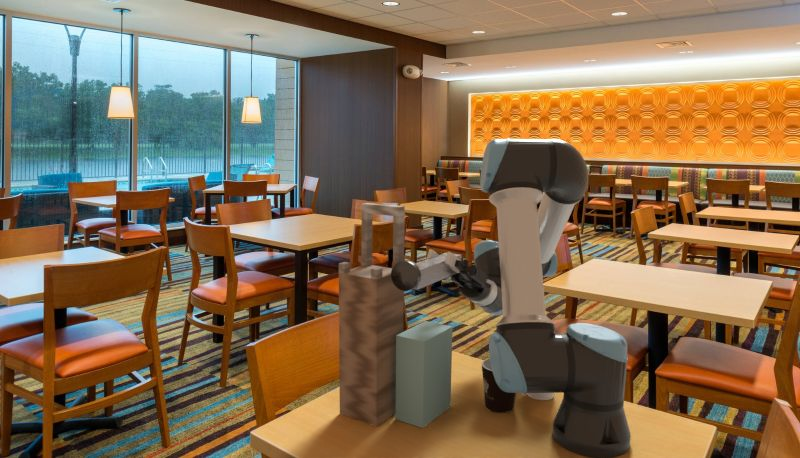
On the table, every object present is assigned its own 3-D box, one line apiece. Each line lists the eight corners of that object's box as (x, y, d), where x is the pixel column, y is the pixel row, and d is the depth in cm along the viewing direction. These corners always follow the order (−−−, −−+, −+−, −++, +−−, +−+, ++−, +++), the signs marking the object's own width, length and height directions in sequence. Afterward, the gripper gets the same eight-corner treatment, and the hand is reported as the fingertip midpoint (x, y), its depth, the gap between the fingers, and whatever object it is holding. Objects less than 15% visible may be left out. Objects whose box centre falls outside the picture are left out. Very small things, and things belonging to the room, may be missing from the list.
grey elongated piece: (464, 272, 136) (465, 246, 135) (415, 293, 119) (415, 264, 118) (442, 268, 139) (442, 243, 138) (390, 288, 122) (391, 260, 121)
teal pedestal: (450, 406, 135) (452, 326, 132) (422, 428, 125) (424, 342, 122) (424, 398, 139) (425, 320, 135) (395, 418, 129) (396, 335, 126)
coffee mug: (518, 416, 130) (520, 373, 129) (479, 412, 132) (480, 370, 130) (518, 394, 141) (520, 354, 140) (482, 390, 143) (483, 351, 141)
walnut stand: (402, 408, 134) (404, 206, 126) (376, 426, 125) (377, 211, 118) (366, 397, 139) (367, 202, 132) (339, 413, 131) (338, 207, 123)
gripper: (505, 307, 144) (468, 277, 125) (444, 295, 153) (401, 266, 135) (512, 278, 146) (477, 245, 127) (451, 268, 155) (410, 236, 137)
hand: (438, 256), depth 131 cm, fingers closed on grey elongated piece, 4 cm apart
